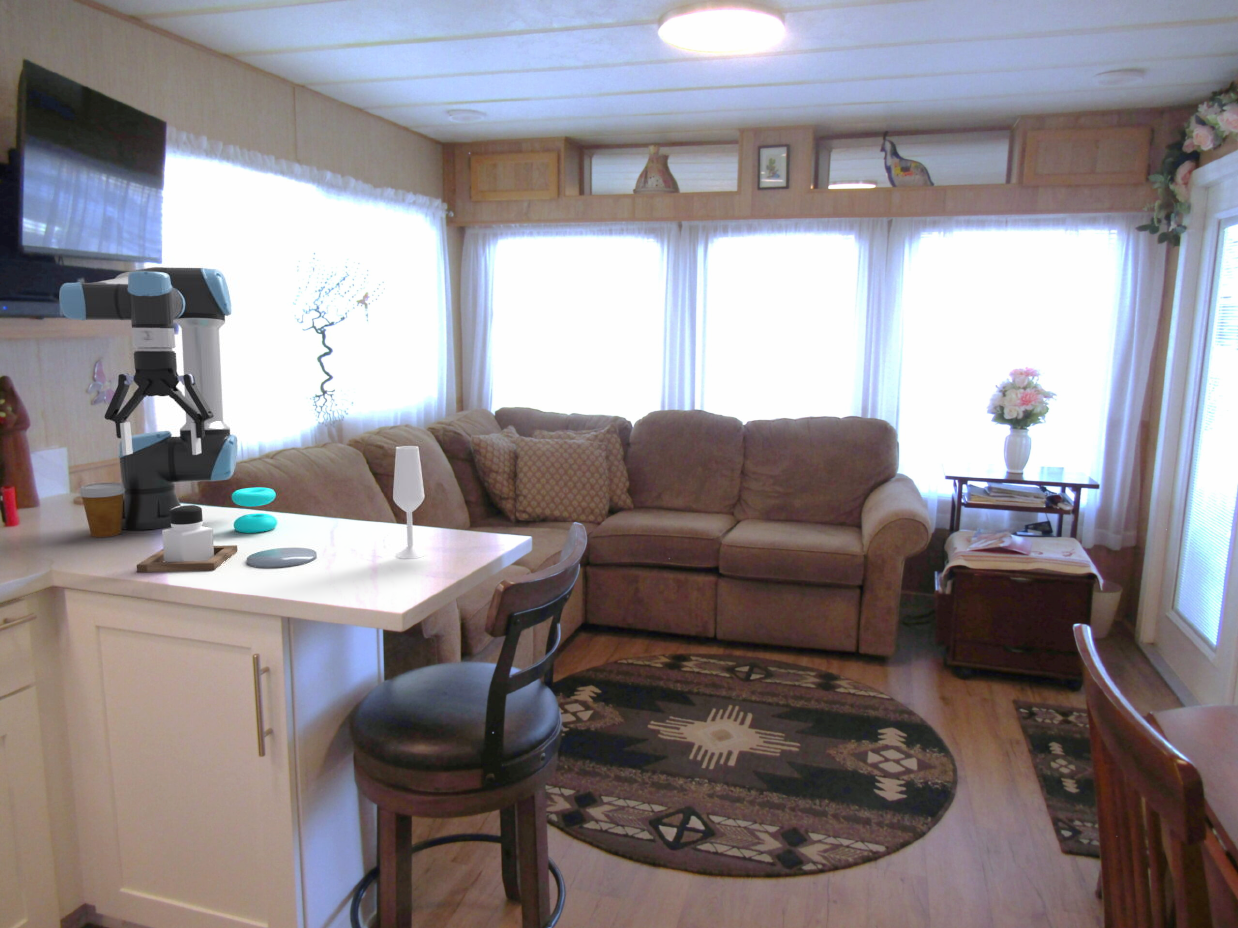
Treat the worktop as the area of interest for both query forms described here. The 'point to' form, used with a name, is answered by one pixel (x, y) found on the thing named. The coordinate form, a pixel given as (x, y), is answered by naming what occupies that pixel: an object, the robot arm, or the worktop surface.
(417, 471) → the champagne flute
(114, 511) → the disposable coffee cup
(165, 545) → the medicine bottle
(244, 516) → the donuts
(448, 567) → the worktop surface
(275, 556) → the slate plate
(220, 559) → the wooden picture frame
